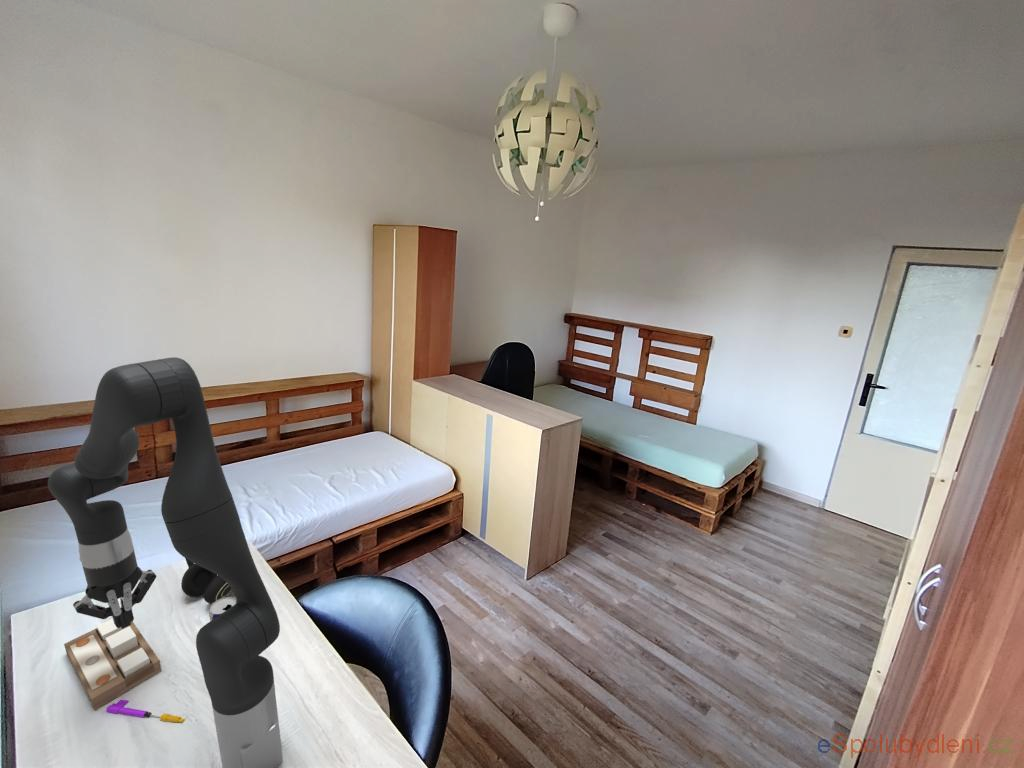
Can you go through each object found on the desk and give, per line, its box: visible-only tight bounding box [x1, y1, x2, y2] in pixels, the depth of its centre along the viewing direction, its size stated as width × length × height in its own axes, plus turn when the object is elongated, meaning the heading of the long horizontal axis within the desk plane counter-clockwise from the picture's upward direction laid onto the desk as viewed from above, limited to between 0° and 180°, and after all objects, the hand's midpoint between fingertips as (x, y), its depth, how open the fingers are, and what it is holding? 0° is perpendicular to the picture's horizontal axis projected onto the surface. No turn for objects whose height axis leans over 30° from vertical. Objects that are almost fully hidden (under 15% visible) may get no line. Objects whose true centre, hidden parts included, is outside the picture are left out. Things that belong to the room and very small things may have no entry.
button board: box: [63, 620, 163, 711], centre depth 97 cm, size 20×11×4 cm, turn 55°
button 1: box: [96, 617, 127, 642], centre depth 102 cm, size 4×4×3 cm
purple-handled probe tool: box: [106, 699, 186, 724], centre depth 88 cm, size 3×1×16 cm
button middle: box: [105, 626, 138, 659], centre depth 97 cm, size 4×4×3 cm
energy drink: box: [208, 596, 236, 622], centre depth 101 cm, size 5×5×12 cm
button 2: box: [117, 648, 150, 678], centre depth 94 cm, size 4×4×3 cm
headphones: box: [180, 557, 233, 605], centre depth 114 cm, size 9×15×20 cm, turn 74°
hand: (125, 624), depth 91 cm, fingers closed
